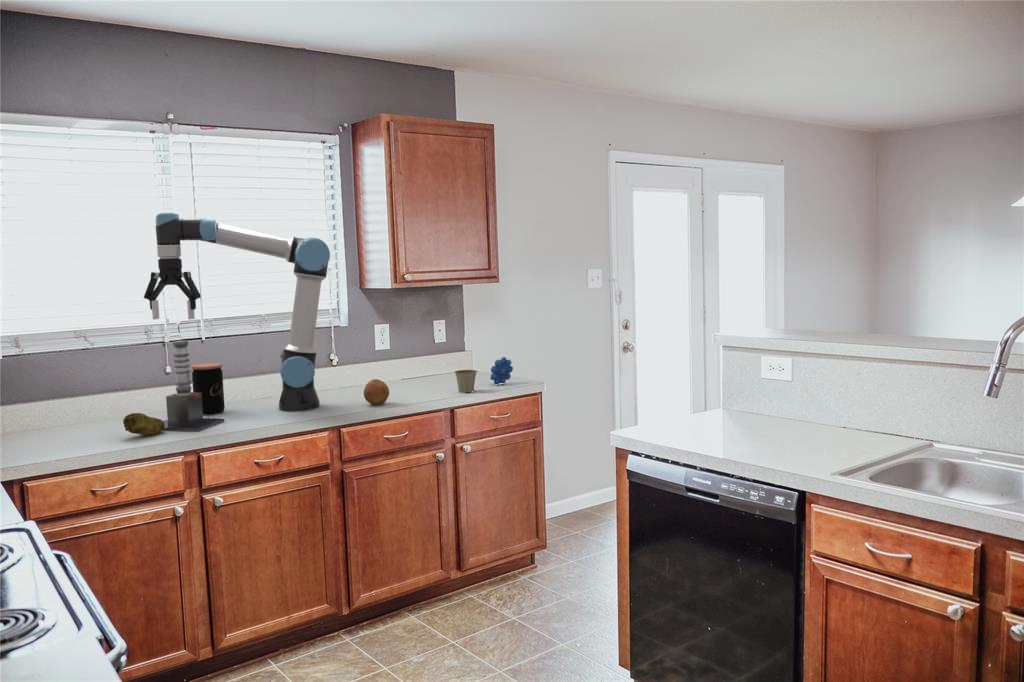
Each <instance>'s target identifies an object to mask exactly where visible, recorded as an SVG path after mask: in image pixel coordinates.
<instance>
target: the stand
mask: <svg viewBox="0 0 1024 682" xmlns="http://www.w3.org/2000/svg"><path fill="white" fill-rule="evenodd" d="M191 392H192V395H188V396H176V393H172V394H169V395H166V396H165V400H166V415H167V419H165V420H162V421H163V422H164V429H163V432H164V431H171V432H192V433H193V432H197V433H198V432H200V431H203V429H204V430H207V429H209V428H211V426H212V427H214V426H217V425H220V424H222V423H224V422H226V420H225V418H213V417H212V418H211V417H207V418H206V417H204V415H203V408H202V393H199V392H193V391H191ZM219 423H220V424H219ZM216 424H217V425H216ZM213 425H214V426H213ZM208 427H209V428H208Z"/></svg>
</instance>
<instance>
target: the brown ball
mask: <svg viewBox="0 0 1024 682" xmlns="http://www.w3.org/2000/svg"><path fill="white" fill-rule="evenodd" d="M363 389H364V390H363V397H364V399H365V401H366V402H367V403H369V404H371V405H373V406H376V405H377V406H378V405H383V404H384V403H385V402H387V400H388V398H389V396H390V389H389V386H388V385H387V384H386V382H384V381H383V380H380V379H376V378H374V379H371V380H369V381H368V382H367V383H366V385H365V387H364V388H363Z"/></svg>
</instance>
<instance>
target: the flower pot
mask: <svg viewBox="0 0 1024 682" xmlns="http://www.w3.org/2000/svg"><path fill="white" fill-rule="evenodd" d="M453 373H454V375H455V377H456V381H457V388H458V393H460V392H467V393H468V392H471V393H473V392H472V391H474V392H475V382H476V381H475V380H476V376H477V373H478V370H474V369H460V370H455V371H454V372H453Z"/></svg>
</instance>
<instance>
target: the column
mask: <svg viewBox="0 0 1024 682" xmlns="http://www.w3.org/2000/svg"><path fill="white" fill-rule="evenodd" d="M188 345H189V340H174V341H172V346H173V358H174V359H173V362H174V365H173V368H174V370H175V371H174V374H175V381H176V382H175V386H176V387H175V391H176V393H175V394H176V396H188V395H192V392H193V391H192V386H191V384H192V380H191V377H190V373H191V370H190V367H191V365H190V357H189V356H190V352H189V351H188V350H189V347H188Z"/></svg>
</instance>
